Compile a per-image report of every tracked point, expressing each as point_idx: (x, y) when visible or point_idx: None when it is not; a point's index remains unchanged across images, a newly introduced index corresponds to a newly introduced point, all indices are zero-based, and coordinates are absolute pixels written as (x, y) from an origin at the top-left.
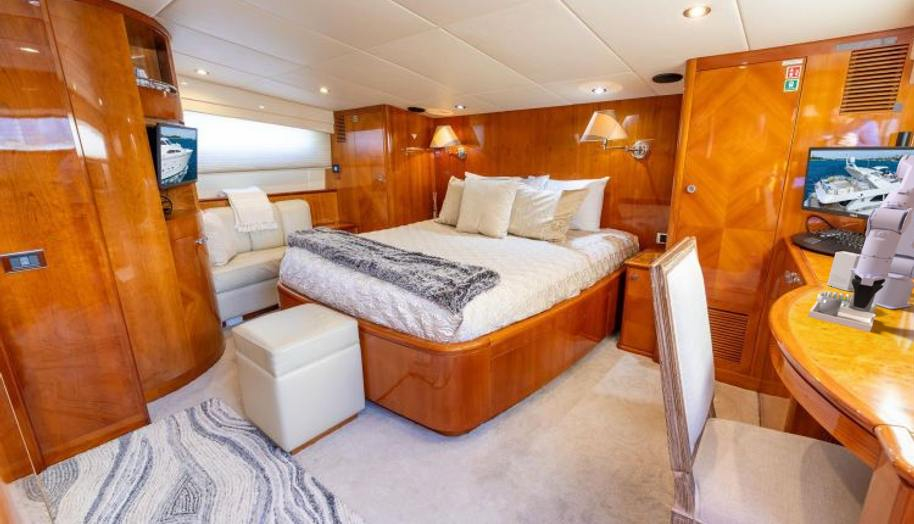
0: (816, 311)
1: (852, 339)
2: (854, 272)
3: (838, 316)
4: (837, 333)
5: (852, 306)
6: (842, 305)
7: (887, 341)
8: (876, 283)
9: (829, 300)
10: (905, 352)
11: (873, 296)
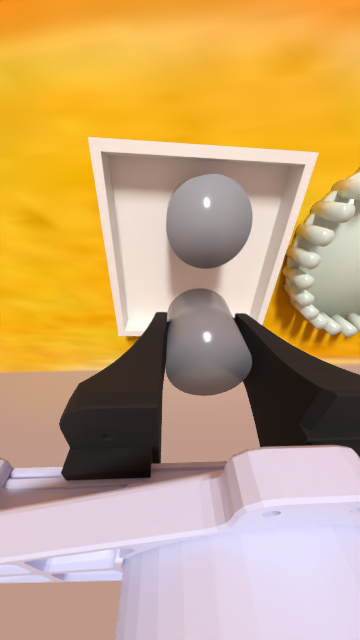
0: (212, 170)
1: (28, 294)
2: (214, 479)
3: None
4: (35, 259)
5: (175, 304)
6: (304, 257)
7: (107, 347)
8: (267, 442)
9: (183, 217)
10: (67, 369)
11: (186, 390)
